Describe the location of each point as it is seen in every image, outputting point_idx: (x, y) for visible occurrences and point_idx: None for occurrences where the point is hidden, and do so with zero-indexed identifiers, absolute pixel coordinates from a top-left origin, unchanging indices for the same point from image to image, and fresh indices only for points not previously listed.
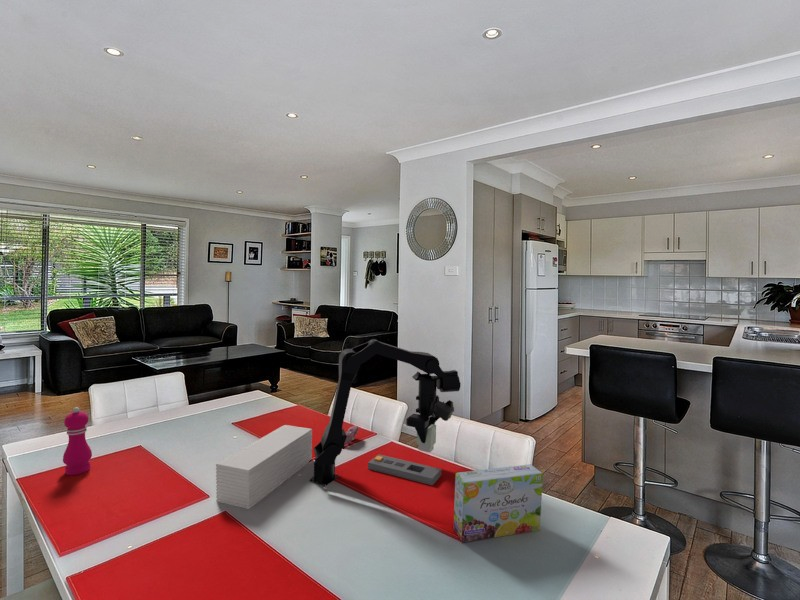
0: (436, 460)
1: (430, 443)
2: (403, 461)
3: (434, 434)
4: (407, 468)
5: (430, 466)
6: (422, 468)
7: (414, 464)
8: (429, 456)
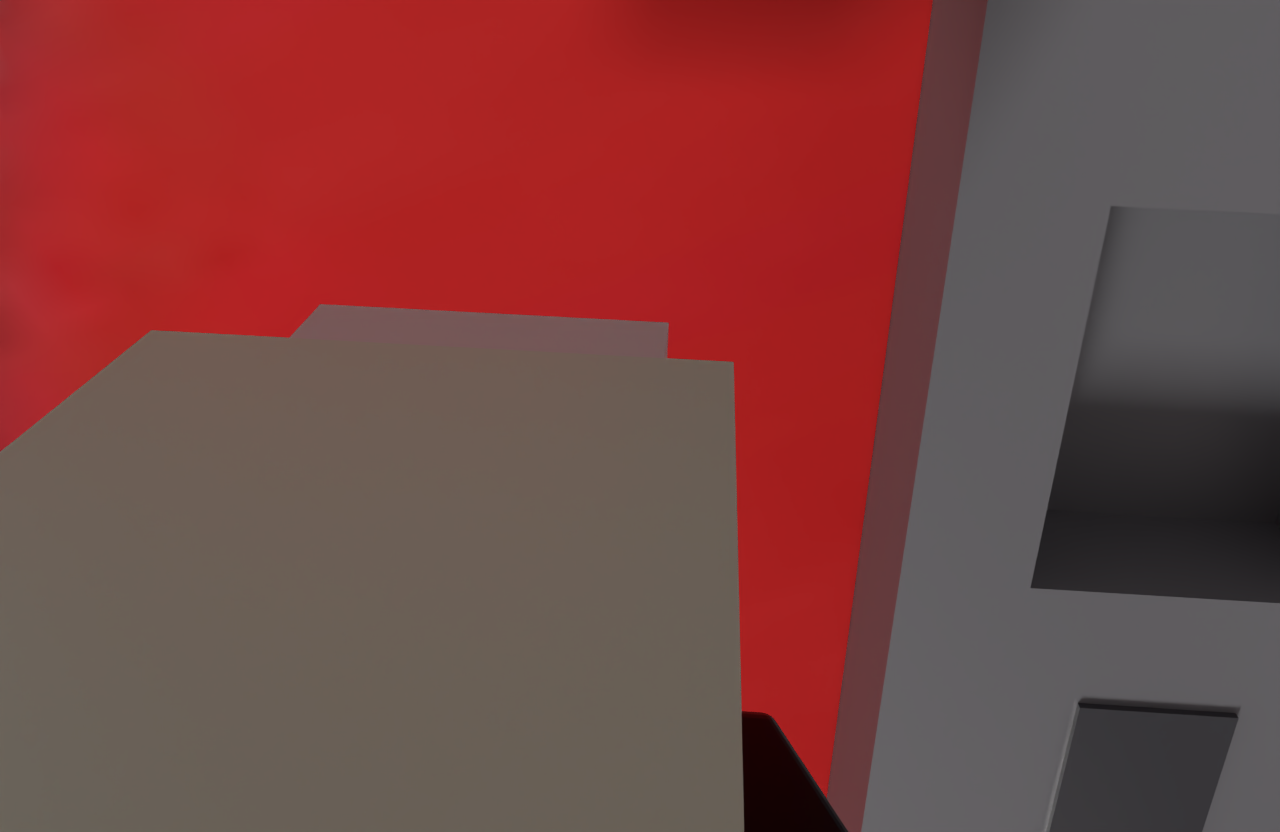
0: (85, 202)
1: (728, 473)
2: (935, 775)
3: (122, 616)
4: (1255, 593)
5: (971, 98)
6: (1079, 279)
7: (1003, 523)
8: (9, 410)
